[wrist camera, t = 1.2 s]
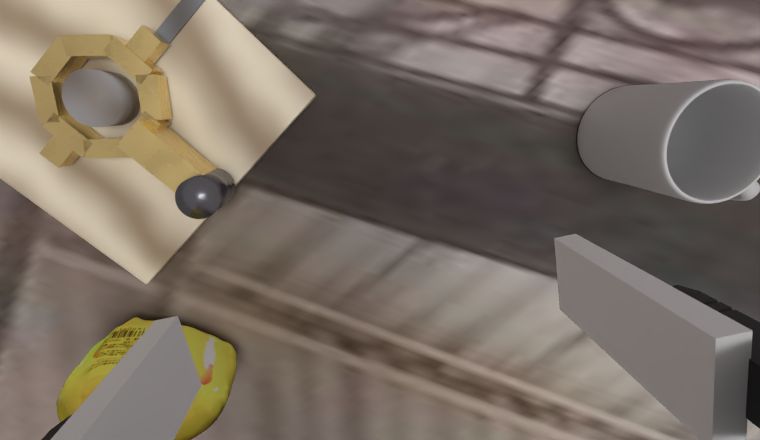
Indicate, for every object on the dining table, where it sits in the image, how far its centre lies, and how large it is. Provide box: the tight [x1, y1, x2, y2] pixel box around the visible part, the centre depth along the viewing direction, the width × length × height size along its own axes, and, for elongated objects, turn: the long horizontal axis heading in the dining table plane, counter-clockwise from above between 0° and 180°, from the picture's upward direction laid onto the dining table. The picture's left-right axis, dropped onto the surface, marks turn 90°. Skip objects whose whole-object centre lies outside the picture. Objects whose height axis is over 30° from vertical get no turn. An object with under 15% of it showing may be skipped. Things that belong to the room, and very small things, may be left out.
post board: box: [0, 0, 317, 284], centre depth 33 cm, size 22×22×5 cm
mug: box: [577, 79, 760, 204], centre depth 34 cm, size 12×8×11 cm
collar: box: [29, 25, 235, 219], centre depth 31 cm, size 12×16×5 cm
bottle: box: [57, 317, 237, 440], centre depth 31 cm, size 12×6×20 cm, turn 73°
